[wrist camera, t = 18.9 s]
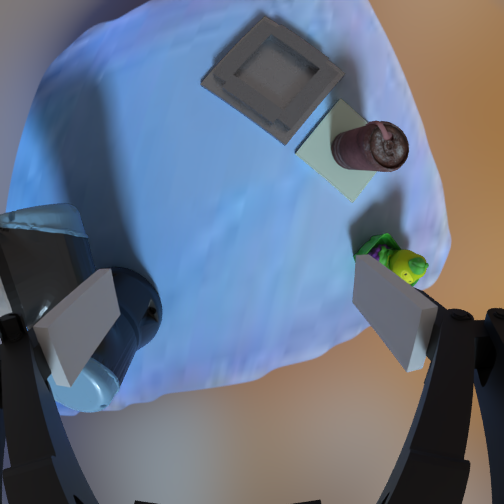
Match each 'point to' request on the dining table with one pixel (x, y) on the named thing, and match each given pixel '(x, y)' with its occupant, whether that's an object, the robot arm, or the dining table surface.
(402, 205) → the dining table surface
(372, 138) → the can
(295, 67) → the socket block
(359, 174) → the mat
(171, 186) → the dining table surface
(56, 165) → the dining table surface
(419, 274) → the fruit basket
